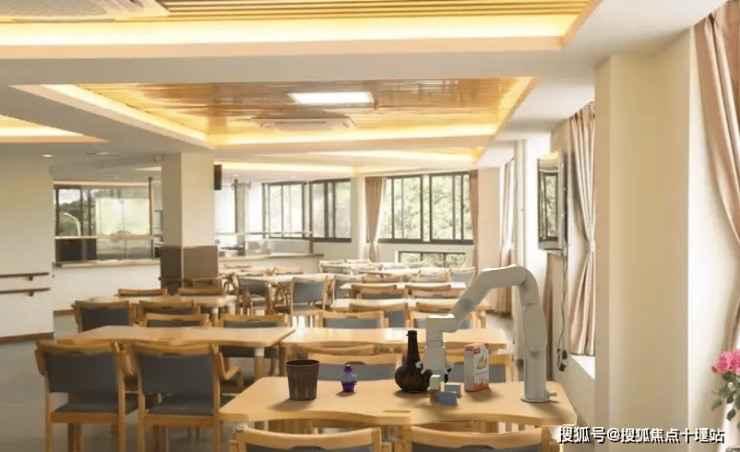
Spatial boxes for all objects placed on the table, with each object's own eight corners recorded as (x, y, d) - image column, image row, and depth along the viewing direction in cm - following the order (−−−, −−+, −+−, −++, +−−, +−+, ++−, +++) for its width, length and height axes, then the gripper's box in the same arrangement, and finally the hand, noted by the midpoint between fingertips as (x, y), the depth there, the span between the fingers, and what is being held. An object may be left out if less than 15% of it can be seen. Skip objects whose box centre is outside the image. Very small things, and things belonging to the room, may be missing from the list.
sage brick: (440, 386, 371) (440, 375, 371) (437, 389, 364) (437, 378, 364) (432, 386, 372) (432, 374, 372) (430, 389, 365) (429, 377, 365)
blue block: (456, 403, 360) (456, 391, 360) (455, 405, 356) (455, 393, 356) (440, 402, 361) (440, 391, 361) (439, 404, 358) (439, 392, 358)
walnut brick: (440, 397, 371) (440, 386, 371) (437, 400, 364) (437, 389, 364) (433, 397, 372) (432, 386, 372) (430, 400, 365) (429, 389, 365)
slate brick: (460, 394, 377) (460, 383, 377) (459, 396, 374) (459, 384, 374) (445, 393, 379) (445, 382, 379) (444, 395, 376) (444, 384, 376)
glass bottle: (433, 386, 395) (432, 327, 395) (432, 394, 377) (431, 332, 377) (396, 386, 397) (395, 327, 397) (393, 394, 379) (392, 333, 379)
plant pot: (315, 402, 366) (314, 365, 366) (280, 401, 369) (279, 365, 369) (325, 394, 382) (324, 359, 382) (291, 393, 385) (290, 358, 385)
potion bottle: (360, 391, 387) (360, 365, 387) (343, 393, 383) (343, 367, 383) (353, 388, 395) (352, 362, 395) (336, 390, 391) (335, 364, 391)
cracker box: (475, 392, 381) (474, 346, 381) (463, 390, 385) (462, 345, 385) (490, 386, 392) (489, 342, 392) (478, 385, 396) (478, 341, 396)
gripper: (455, 342, 369) (456, 381, 370) (416, 342, 374) (417, 380, 374) (452, 345, 362) (453, 384, 362) (413, 344, 367) (414, 383, 367)
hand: (435, 382), depth 368 cm, fingers open, 9 cm apart
